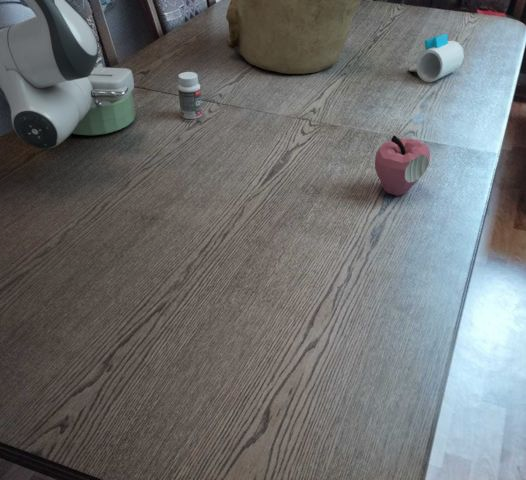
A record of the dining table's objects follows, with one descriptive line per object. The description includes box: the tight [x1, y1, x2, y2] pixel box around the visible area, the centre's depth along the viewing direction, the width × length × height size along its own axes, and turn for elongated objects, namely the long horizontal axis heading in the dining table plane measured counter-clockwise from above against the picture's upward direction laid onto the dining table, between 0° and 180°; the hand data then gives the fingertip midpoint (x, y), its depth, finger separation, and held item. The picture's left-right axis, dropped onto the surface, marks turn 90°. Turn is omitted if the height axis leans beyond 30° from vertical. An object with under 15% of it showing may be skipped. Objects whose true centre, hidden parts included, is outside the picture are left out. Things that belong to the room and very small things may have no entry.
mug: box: [408, 33, 465, 83], centre depth 137 cm, size 12×9×12 cm
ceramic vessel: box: [225, 0, 363, 75], centre depth 139 cm, size 29×42×25 cm
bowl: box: [71, 90, 136, 136], centre depth 117 cm, size 17×17×6 cm
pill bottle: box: [177, 71, 203, 120], centre depth 118 cm, size 5×5×8 cm
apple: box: [374, 135, 431, 197], centre depth 96 cm, size 10×9×10 cm
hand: (92, 66), depth 111 cm, fingers closed
